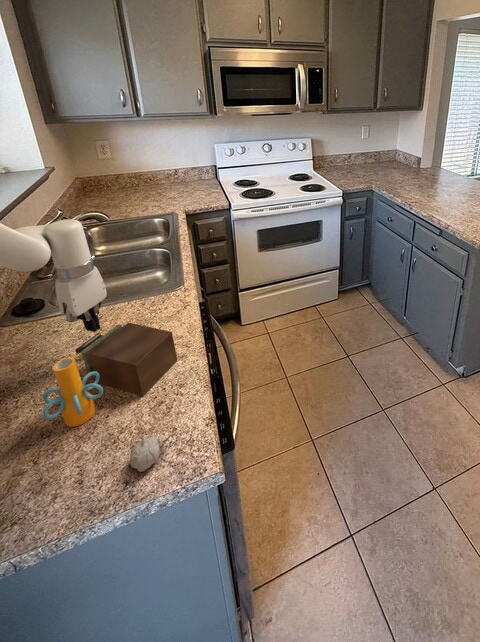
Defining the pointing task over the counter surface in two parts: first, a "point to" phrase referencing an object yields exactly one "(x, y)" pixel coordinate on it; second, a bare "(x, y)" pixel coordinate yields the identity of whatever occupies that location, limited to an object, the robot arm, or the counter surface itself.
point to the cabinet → (134, 358)
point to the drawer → (94, 346)
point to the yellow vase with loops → (72, 394)
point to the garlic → (144, 453)
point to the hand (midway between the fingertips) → (93, 329)
